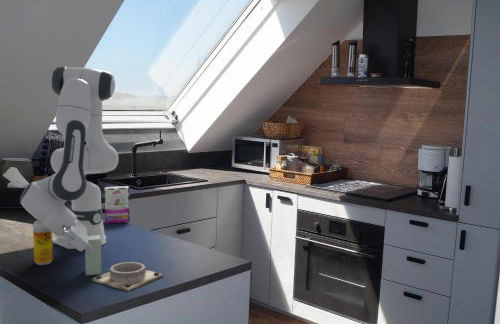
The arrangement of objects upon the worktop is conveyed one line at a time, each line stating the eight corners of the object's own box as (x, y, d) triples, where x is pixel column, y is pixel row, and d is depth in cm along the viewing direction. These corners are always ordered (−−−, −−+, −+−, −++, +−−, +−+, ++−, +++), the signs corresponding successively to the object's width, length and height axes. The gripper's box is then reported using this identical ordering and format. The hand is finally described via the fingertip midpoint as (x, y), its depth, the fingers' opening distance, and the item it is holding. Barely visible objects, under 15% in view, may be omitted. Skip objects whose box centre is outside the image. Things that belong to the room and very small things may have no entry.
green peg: (85, 275, 180) (85, 240, 178) (85, 270, 184) (84, 236, 183) (101, 274, 181) (100, 239, 180) (100, 269, 186) (100, 235, 184)
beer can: (42, 266, 188) (41, 224, 186) (30, 263, 191) (29, 221, 189) (56, 261, 193) (55, 220, 191) (44, 259, 196) (43, 218, 194)
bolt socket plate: (91, 280, 175) (91, 269, 174) (127, 267, 188) (127, 256, 188) (128, 291, 166) (127, 279, 166) (163, 276, 180) (162, 265, 179)
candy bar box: (129, 220, 255) (129, 185, 253) (129, 222, 250) (129, 187, 248) (105, 221, 253) (104, 186, 250) (104, 223, 248) (104, 188, 246)
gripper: (69, 223, 168) (103, 251, 173) (70, 209, 188) (100, 234, 192) (55, 238, 167) (88, 266, 172) (57, 222, 187) (87, 247, 191)
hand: (94, 249), depth 182 cm, fingers closed on green peg, 5 cm apart
